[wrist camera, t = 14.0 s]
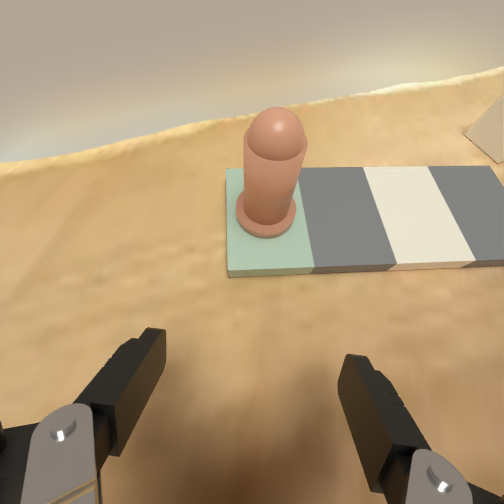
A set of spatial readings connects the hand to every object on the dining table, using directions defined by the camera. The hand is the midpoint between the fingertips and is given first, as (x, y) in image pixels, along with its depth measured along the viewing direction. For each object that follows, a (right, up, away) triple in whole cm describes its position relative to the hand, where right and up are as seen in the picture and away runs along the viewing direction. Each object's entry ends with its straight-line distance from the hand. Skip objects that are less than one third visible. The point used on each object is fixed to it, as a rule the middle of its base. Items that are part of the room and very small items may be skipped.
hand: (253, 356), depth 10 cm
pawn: (+1, +8, +9) cm, 12 cm away
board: (+11, +8, +11) cm, 17 cm away
